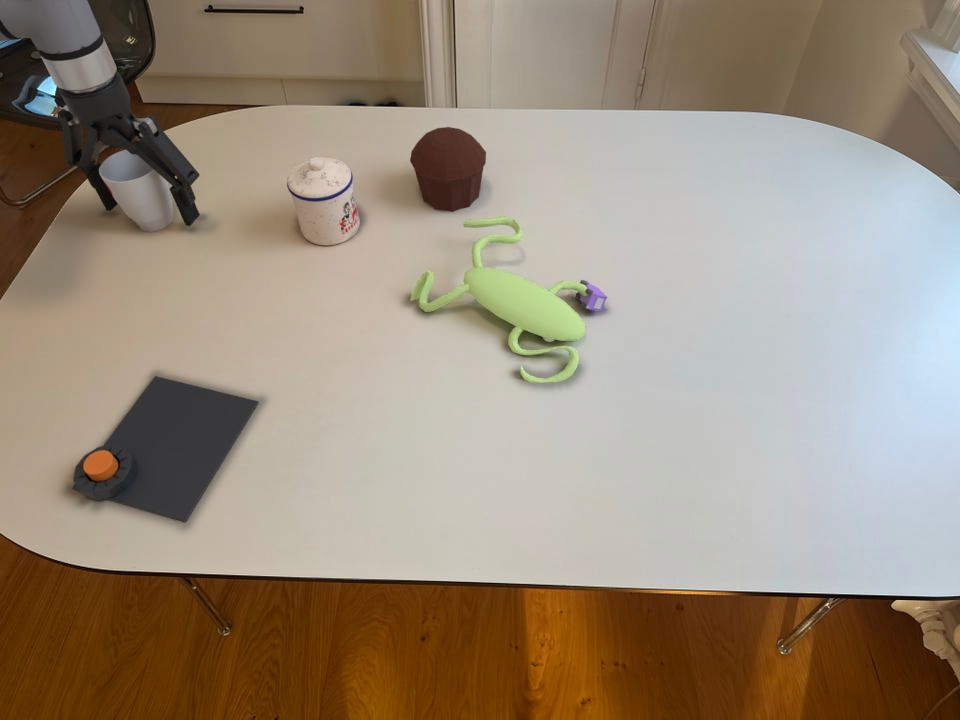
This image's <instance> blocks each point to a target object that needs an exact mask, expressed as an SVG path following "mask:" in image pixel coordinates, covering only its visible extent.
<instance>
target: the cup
mask: <svg viewBox="0 0 960 720" xmlns="http://www.w3.org/2000/svg"><path fill="white" fill-rule="evenodd" d="M100 164H101V166H100V168H99V174H100V176H101V177H102V179H103V181H104V182H105V184H106V186H107V187H108V189H109V191H110V192H111V194H112V196H113V197H114V199H115V200H116V202H117V203H118V204H117V205H119V207H120V208H121V210H122V211H123V212H124V214H125V215H126V216H127V217H128V219H130V220H131V221H132V222H133V223H134V225H136V226H137V227H138V228H139V229H140V230H141V231H143V232H147V233H149V232H150V233H152V232H153V233H154V232H160V231H162V230H165V229H166V228H168V227H169V226H170V225H171V224H172V222H173V220H174V211H173V200H172V194H171V192H170V186H169V182H168V181H166V180H165V179H164V178H163V177H162V176H161V175H160V174H158V173H157V172H156V171H155V170H154V169H153V168H151V167H150V166H149V165H148V164H147V163H146V162H145V161H143V160H142V159H141V158H140V157H139V156H138V155H136V154H131V153H130V152H128V151H127V150H126V149H123V150H120V151H117V152H116V153H113V154H111V155H109V156H108V157H107V158H105V160H103V161H102V162H101V163H100Z"/></svg>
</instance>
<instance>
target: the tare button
mask: <svg viewBox="0 0 960 720" xmlns="http://www.w3.org/2000/svg"><path fill="white" fill-rule="evenodd" d="M83 468H84V471H85V472H86V473H87V474H88V476H89V477H90V478H91V479H92V480H94V481H105V480H107V479H109V478H111V477H112V476H113V475H114V474H115V473H116V472H117V470H118V462H117V460H116V459H115V458H114V456H113V455H112V454H111V453H110V452H109V451H105V450H100V451H96V452H94V453H92V454H91V455H89V456H88V457H87V459H86V460H85V462H84V465H83Z"/></svg>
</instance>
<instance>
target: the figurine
mask: <svg viewBox="0 0 960 720" xmlns="http://www.w3.org/2000/svg"><path fill="white" fill-rule="evenodd" d="M494 226H508V227H510V228H512V229H513V230H514V231H515V233H514V234H512V235H505V234H495V233H494V234H488V235H484V236H482V237H481V238H479V239H478V240H477V241H476V242H474V244H473V245H472V249H471V259H472V266H473V267H472V268H470V269H469V270H467V271H466V272H464V276H463V283H464V284H461V285H459V286H458V287H456V288H454V289H453V290H451V291H450V292H448V293H446V294H444V295H441V296H439V297H438V298H436V299H434V300H432V301H431V302H428V297H429V294H430V290H431V288H432V286H433V284H434V281H435V278H436V276H435V273H434V272H433V271H431V270H430V269H427V270H425V272H423V274H422V275H421V276H420V278H419V279H418V281H417V282H416V284H415V286H414V288H413V290H412V294H411V296H410V299H409V301H410V302H412V301H416V300H418V307H419V308H420V309H421V310H422V311H423V312H425V313H431V312H433V311H434V312H435V311H436V310H438V309H440V308H442V307H443V306H446V305H448V304H450V303H453V302H455V301H456V300H457V299H459V298H460V297H462V296H464V295H465V294H467V293H469V294H470V295H471V296H472V297H473V298H474V299H475V300H476V301H477V302H478V303H479V304H480V305H481V306H482V307H484V308H485V309H487V310H488V311H490V312H491V313H492V314H494V315H495V316H496V317H498V318H499V319H502V320H503V321H505V322H508V323H509V324H510V325H513V326H514V327H513V328H512V330H511V331H510V333H509V335H508V346H509V349H510V350H511V352H513V353H515V354H516V355H520V356H535V355H541V354H545V353H547V352H550V351H551V352H552V351H554V350H558V349H563V350H565V351H567V352H568V355H569V360H568V363H567V365H566V366H565V367H564V369H562V370H561V371H560V372H558V373H557V374H555V375H552V376H549V377H547V378H542V377H537V376H535V375H531V374H529V373H528V372H527V371H525V369H524V367H523V365H522V364H521V365H520V375H521V377H522V378H523V380H524V381H526V382H529V383H538V384H539V383H542V384H543V383H559V382H562V381H565V380H567V379H569V378H571V377H572V376H573V375H574V373H575V371H577V368H578V366H579V363H580V356H579V351H577V350H576V349H575V348H574V347H573V346H571V345H558V346H553V347H547V348H540V349H525V348H521V346H520V345H519V343H518V341H519V337H520V335H521V334H522V333H523V332H524V331H526V332H529V333H532V334H534V335H537V336H540V337H542V339H543V340H544V341H545V342H547V343H551V342H554V341H555V340H556V341H559V342H560V341H562V342H569V341H570V342H571V341H573V342H574V341H578V340H580V339H581V338H583V337H584V336H585V335H586V325H585V323H584V321H583V319H582V318H581V316H580V314H579V313H578V312H576V311H575V309H573V308H572V307H571V305H570V304H568V303H567V302H566V301H565V300H563V298H561V297H559V296H557V294H558V293H559V292H560V291H562V290H568V291H569V290H570V291H576V292H575V295H574V298H575V299H577V300H578V301H580V302H581V303H580V306H581V308H583V309H586V310H590V311H595V312H601V311H602V309H603V307H604V305H605V303H606V302H607V299H608V296H607V295H606V294H605V293H604V292H603V291H602V290H601V289H600V288H599V287H598V286H595V285H594V284H592V283H590V282H589V281H588V280H585V279H581V280H580V281H579V282H578V281H568V280H561V281H559V282H557V283H556V284H554V285H553V286H552V287H550V288H549V289H547V288H545V287H544V286H541V285H539V284H538V283H535V282H534V281H532V280H529V279H527V278H526V277H522V276H520V275H517V274H514V273H512V272H509V271H506V270H502V269H496V268H492V267H486V266H483V263H482V262H483V261H482V256H481V251H482V249H483V248H485V247H486V246H488V245H489V244H506V245H507V244H508V245H515V244H517V243H520V242H521V241H522V239H523V234H524V232H523V229H522V227H521V225H520V223H518V222H517V221H516V220H515V219H514V218H512V217H509V216H505V215H504V216H497V217H493V218H485V219H484V218H483V219H465V220H464V221H463V224H462V227H463V228H470V229H478V228H487V227H489V228H490V227H494Z"/></svg>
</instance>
